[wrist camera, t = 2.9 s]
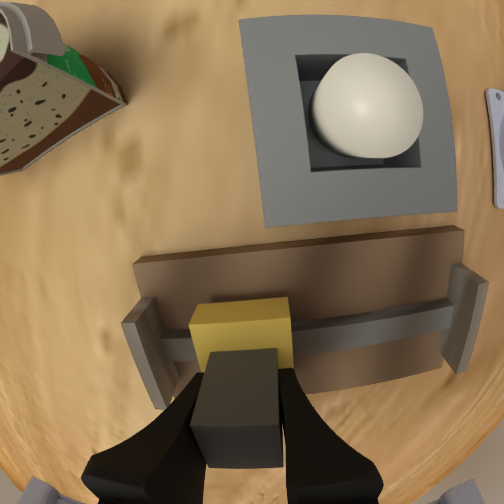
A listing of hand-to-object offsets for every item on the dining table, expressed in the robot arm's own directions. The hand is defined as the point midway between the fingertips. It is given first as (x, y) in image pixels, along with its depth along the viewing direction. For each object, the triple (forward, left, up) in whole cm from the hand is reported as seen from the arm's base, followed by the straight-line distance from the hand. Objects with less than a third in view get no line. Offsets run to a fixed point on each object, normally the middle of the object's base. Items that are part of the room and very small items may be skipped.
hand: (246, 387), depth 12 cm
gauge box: (-5, -11, -5) cm, 13 cm away
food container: (+11, -16, -6) cm, 20 cm away
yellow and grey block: (0, 0, -4) cm, 4 cm away
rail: (-3, 0, -5) cm, 6 cm away
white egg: (-6, -11, -2) cm, 12 cm away
